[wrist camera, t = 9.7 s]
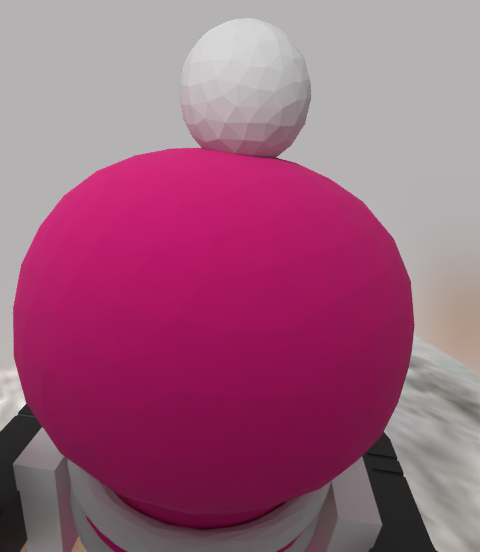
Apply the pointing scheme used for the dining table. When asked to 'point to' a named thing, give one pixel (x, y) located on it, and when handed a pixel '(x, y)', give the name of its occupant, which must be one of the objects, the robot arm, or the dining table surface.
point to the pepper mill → (213, 322)
